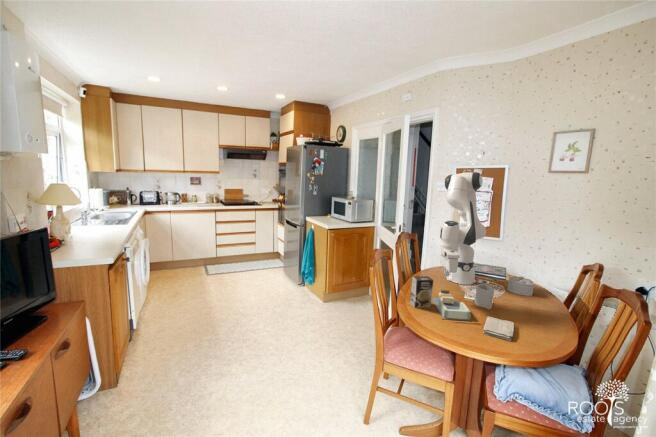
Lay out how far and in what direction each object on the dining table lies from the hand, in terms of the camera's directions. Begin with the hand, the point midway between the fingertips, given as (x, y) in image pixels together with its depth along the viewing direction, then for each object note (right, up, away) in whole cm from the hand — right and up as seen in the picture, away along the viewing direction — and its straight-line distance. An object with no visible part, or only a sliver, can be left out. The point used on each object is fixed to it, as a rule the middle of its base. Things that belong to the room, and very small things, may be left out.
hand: (446, 275), depth 171 cm
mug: (+20, -17, 0) cm, 26 cm away
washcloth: (+14, -21, -26) cm, 36 cm away
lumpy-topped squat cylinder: (+53, -14, +21) cm, 59 cm away
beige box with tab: (-1, -15, 0) cm, 15 cm away
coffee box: (-16, -16, -5) cm, 23 cm away
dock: (-1, -17, -7) cm, 18 cm away
